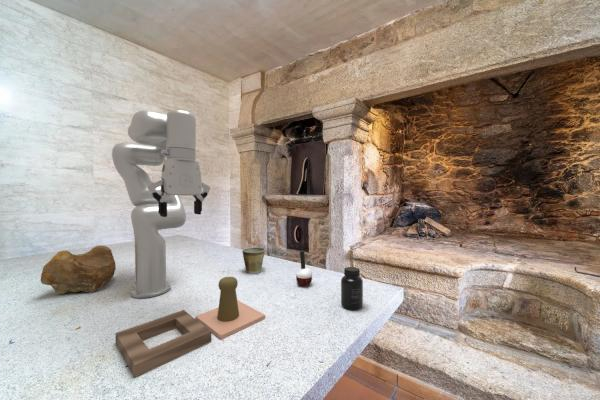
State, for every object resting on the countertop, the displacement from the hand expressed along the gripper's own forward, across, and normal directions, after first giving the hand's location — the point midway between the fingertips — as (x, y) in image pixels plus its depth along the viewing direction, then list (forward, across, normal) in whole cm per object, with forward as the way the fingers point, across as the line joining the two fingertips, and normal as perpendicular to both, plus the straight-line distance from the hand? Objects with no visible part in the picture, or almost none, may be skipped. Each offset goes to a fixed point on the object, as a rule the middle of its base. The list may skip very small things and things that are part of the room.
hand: (181, 215), depth 72 cm
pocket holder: (+29, -9, -11) cm, 33 cm away
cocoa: (+29, +42, -12) cm, 53 cm away
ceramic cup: (+30, +40, +16) cm, 52 cm away
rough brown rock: (+31, -15, +45) cm, 57 cm away
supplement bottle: (+29, +39, -35) cm, 60 cm away
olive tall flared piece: (+28, +8, -13) cm, 32 cm away
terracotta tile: (+29, +8, -14) cm, 33 cm away
